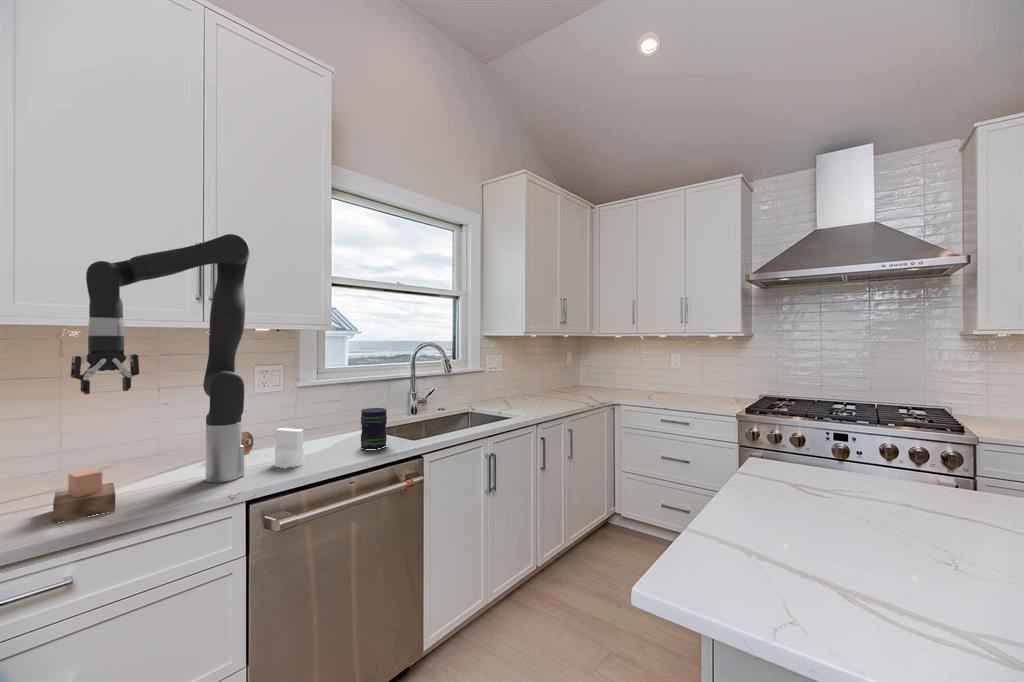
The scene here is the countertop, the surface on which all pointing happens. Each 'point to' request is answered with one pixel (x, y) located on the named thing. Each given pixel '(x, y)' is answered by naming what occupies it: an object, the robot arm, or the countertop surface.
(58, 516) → the walnut block
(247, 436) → the tin
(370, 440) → the storage jar
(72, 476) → the terracotta cube
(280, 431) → the white block
